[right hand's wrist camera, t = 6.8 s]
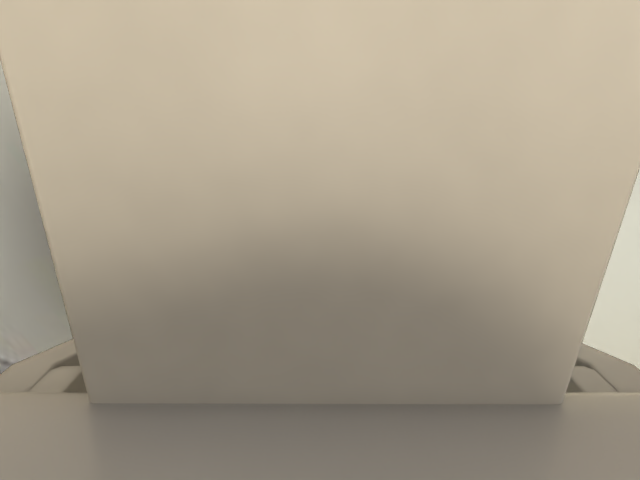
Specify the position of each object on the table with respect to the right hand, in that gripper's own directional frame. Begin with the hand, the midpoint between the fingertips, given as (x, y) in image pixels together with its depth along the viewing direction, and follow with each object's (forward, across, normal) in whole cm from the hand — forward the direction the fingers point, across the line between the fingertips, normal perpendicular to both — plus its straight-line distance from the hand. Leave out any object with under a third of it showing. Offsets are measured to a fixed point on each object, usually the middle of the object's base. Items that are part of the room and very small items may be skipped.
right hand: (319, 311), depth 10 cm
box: (+4, 0, -10) cm, 10 cm away
